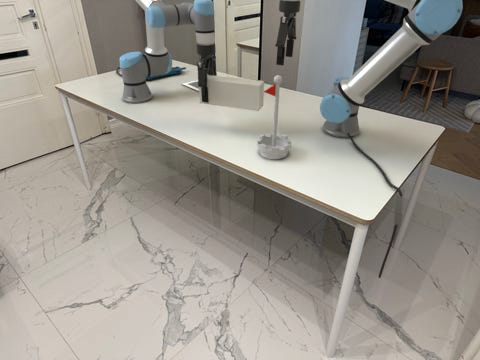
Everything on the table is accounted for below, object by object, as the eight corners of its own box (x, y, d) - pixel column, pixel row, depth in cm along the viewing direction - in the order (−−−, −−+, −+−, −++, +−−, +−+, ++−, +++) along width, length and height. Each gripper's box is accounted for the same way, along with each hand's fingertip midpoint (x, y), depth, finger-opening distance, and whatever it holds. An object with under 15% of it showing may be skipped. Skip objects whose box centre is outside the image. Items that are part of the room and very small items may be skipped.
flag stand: (280, 142, 140) (286, 68, 124) (296, 156, 130) (304, 78, 113) (251, 147, 136) (253, 72, 120) (265, 163, 126) (269, 82, 109)
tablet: (181, 84, 205) (181, 83, 205) (208, 77, 216) (208, 77, 216) (213, 98, 185) (213, 97, 185) (241, 90, 196) (241, 89, 196)
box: (263, 105, 144) (264, 80, 138) (258, 111, 139) (259, 85, 133) (205, 98, 152) (204, 74, 146) (199, 103, 147) (197, 78, 141)
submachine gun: (171, 61, 240) (190, 66, 223) (172, 66, 242) (191, 72, 225) (125, 70, 221) (142, 76, 205) (126, 76, 223) (144, 82, 207)
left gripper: (207, 38, 144) (210, 91, 157) (186, 47, 129) (190, 105, 141) (223, 39, 142) (225, 93, 154) (204, 49, 126) (207, 108, 139)
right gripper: (288, -5, 132) (283, 52, 144) (269, 2, 112) (265, 67, 124) (307, -3, 130) (301, 54, 142) (292, 4, 110) (285, 70, 122)
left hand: (208, 99), depth 148 cm, fingers closed on box, 7 cm apart
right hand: (284, 60), depth 133 cm, fingers open, 13 cm apart
